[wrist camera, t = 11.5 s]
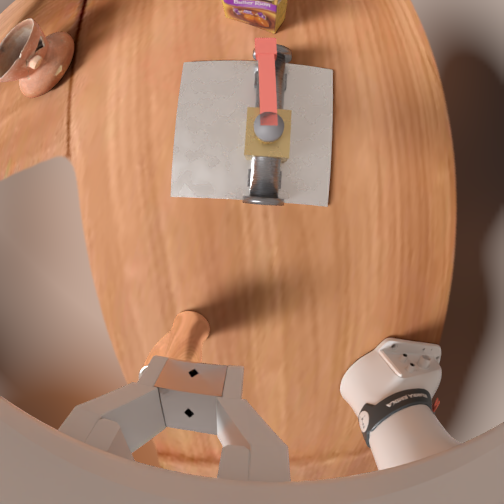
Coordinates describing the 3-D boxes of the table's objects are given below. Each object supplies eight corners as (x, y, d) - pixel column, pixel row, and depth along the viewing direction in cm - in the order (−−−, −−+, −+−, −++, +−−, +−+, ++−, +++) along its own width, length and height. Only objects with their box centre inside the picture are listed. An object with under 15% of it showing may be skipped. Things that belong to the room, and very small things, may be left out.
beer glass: (188, 299, 41) (156, 352, 26) (221, 328, 42) (205, 390, 27) (163, 325, 42) (127, 379, 28) (194, 351, 43) (171, 412, 29)
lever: (283, 142, 28) (284, 139, 26) (254, 142, 28) (254, 139, 26) (278, 44, 25) (279, 38, 23) (251, 45, 25) (251, 38, 24)
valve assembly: (331, 70, 32) (345, 48, 25) (326, 207, 37) (341, 212, 30) (185, 63, 33) (170, 41, 25) (172, 197, 38) (152, 200, 30)
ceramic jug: (96, 48, 31) (53, 17, 18) (52, 112, 34) (0, 100, 20) (56, 30, 29) (19, 8, 15) (19, 85, 32) (-23, 73, 18)
